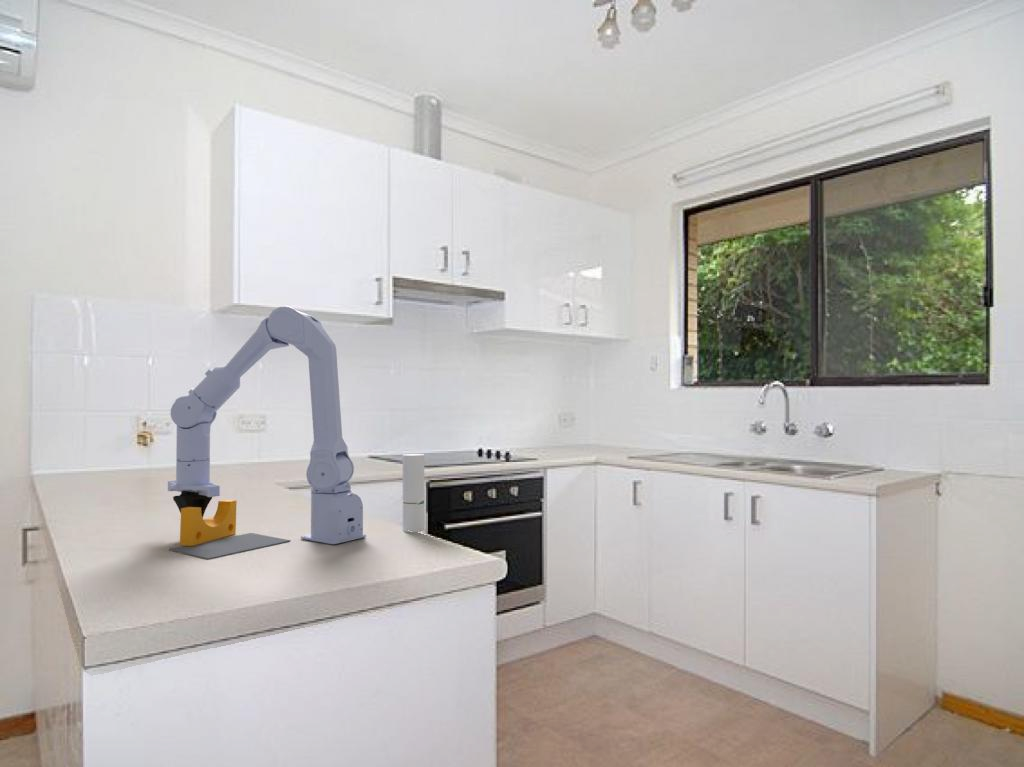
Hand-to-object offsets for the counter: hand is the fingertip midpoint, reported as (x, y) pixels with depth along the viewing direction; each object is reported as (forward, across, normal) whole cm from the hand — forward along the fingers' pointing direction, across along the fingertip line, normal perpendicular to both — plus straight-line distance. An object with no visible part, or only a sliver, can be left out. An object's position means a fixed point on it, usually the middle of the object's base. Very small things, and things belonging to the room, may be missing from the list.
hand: (192, 532), depth 122 cm
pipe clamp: (+1, +4, 0) cm, 4 cm away
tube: (+1, +30, +28) cm, 41 cm away
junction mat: (+1, +12, 0) cm, 13 cm away
